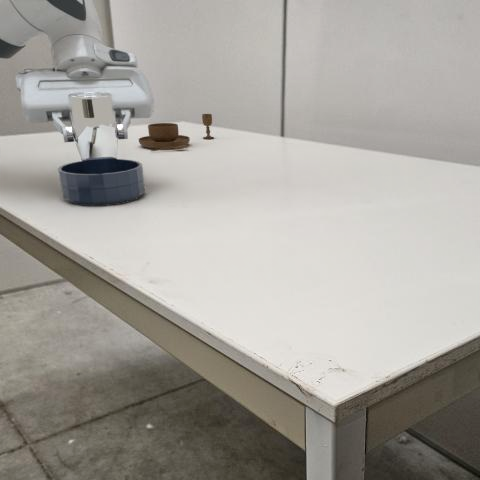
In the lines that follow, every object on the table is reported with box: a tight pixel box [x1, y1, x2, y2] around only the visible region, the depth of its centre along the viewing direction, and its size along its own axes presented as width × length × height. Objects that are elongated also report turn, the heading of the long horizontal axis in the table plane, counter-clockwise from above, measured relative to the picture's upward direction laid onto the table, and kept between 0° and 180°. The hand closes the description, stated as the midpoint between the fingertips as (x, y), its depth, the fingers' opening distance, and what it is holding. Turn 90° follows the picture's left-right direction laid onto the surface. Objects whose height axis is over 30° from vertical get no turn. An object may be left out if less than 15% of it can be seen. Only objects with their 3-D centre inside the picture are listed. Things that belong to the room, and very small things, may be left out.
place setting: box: [138, 113, 215, 152], centre depth 149 cm, size 18×20×6 cm
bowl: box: [57, 158, 146, 206], centre depth 102 cm, size 13×13×5 cm
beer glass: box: [67, 92, 119, 174], centre depth 99 cm, size 7×7×15 cm
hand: (96, 138), depth 98 cm, fingers closed on beer glass, 7 cm apart
